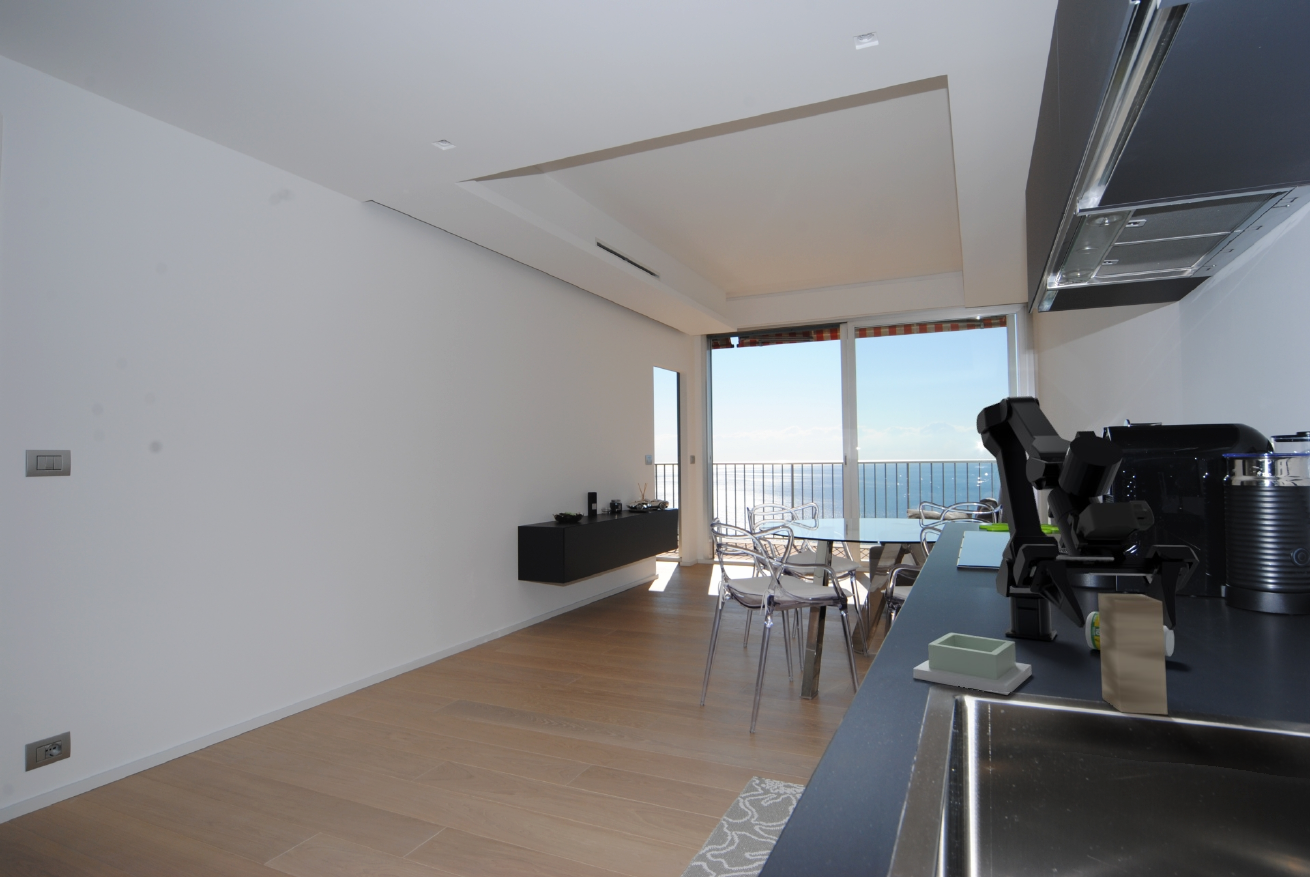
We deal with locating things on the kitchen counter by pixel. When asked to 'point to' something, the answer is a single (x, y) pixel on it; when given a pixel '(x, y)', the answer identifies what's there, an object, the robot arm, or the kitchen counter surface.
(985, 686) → the caddy
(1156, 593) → the robot arm
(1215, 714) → the kitchen counter surface
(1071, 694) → the kitchen counter surface
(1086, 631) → the supplement bottle
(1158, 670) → the brown box
